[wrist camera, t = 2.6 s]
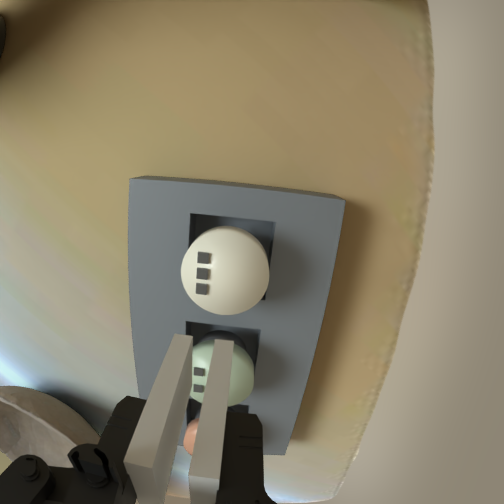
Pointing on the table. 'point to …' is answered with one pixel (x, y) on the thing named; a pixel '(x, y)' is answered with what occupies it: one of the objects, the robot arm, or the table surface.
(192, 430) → the button one
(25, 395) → the bowl
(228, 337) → the button two
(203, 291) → the button three
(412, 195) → the table surface
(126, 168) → the table surface
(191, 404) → the console
